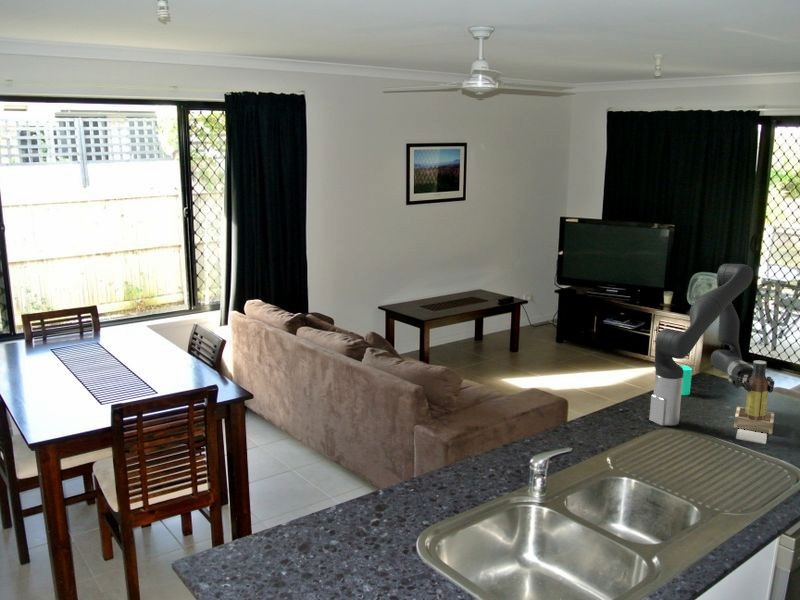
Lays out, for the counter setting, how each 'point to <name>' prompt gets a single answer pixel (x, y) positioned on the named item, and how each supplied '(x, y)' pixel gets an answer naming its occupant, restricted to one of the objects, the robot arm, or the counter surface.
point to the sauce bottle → (757, 392)
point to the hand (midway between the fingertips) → (760, 389)
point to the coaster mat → (751, 436)
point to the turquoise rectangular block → (686, 380)
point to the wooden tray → (753, 422)
